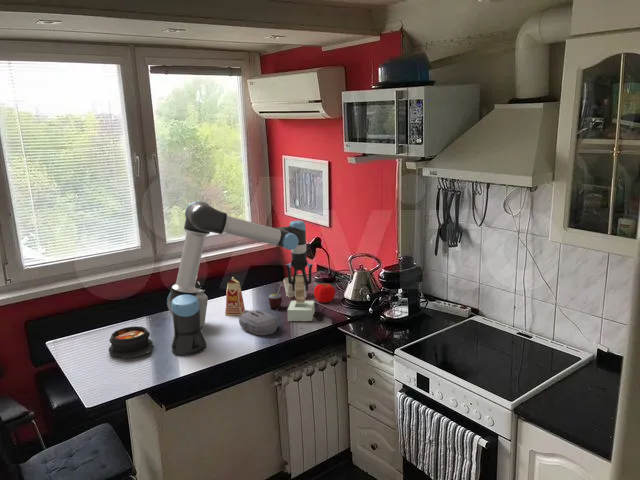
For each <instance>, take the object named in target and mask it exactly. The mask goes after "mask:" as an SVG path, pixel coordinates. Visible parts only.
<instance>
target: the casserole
mask: <svg viewBox="0 0 640 480" xmlns="http://www.w3.org/2000/svg"><path fill="white" fill-rule="evenodd" d="M150 335H151V334H150V331H149V330H148V329H147V328H146V327H144V326H138V325H137V326H129V327H122V328H120V329H117V330H115V331H114V332H112V333H111V336H110V338H109V339H108V340H109V343H110V344H111V345H110V346H109V348H108V352H109V354H111V355H115V356H118V357H121V358H124V359H130V358H131V359H133V358H137V357H140V356H143V355H146V354H148V353H149V352H151V351H152V347H153V345H154V342H153V341H152V340H151V338H149V337H150Z"/></svg>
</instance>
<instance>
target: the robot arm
mask: <svg viewBox="0 0 640 480" xmlns="http://www.w3.org/2000/svg"><path fill="white" fill-rule="evenodd" d="M184 217H185V221H184V226H183V230H184V231H185V233H186V234H185V239H184V243H183V247H182V253H181V258H180V263H179V268H178V272H177V277H176V282H175V284H173V285H171V289H170V292H169V294H168V296H167V299H166V306H167V309H168V311H169V313H170V314H171V318H172V322H173V332H174V335H173V338H172V342H171V353H172V354H173V355H175V356H180V357H181V356H183V357H186V356H193V355H194V356H195V355H197V354H201V353H202V352H204V351H205V350H207V348H208V345H207V343H208V342H207V340H206V337H205V335H204V333H203V331H202V326H201V320H200V304H199V300H198V298H197V297H196V295H197V289H198V288H197V287H196V283H197V279H198V273H199V270H200V263H201V260H202V254H203V249H204V245H205V240H206V237H207V236H208V235H210V234H211V233H214V234H218V235H222V234H227V235H232V236H237V237H240V238H244V239H247V240H248V239H249V240H252V241H255V242H261V243H265V244H269V245H273V246H276V247H280V248H284V249H285V250H288V251H291V254H290V255H291V261H290V263H287V264H286V265H285V267H286V270H287V278H288V281H289V284H292V287H293V291H295V297H294V299H296V284H295V281H296V280H295V276H296V275H297V274H298V271H301V274H303V276H304V281H305V284H304V298H305V299H306V298H307V292H308V291H309V285H311V284H312V281H313V278H312V277H313V276H312V275H313V274H312V273H313V271H312V268H313V266H314V264H313V263H309V262H308V259H307V257H308V256H307V255H308V253H307V232H306V231H307V229H306V228H307V227H306V223H305V222H304V220H293V221H290V223H289V226H279V227H271V226H267V225H263V224H259V223H255V222H252V221H248V220H243V219H240V218H237V217H233V216H229V214H228V213H227V212H224V211H220V210H219V209H216V208H214V207H213V206H211V205H209V204H208V203H207V202H204V201H201V200H200V201H198V200H197V201H193V202H191V203H190V204H189V205H188V206H187V207H186V208H185V212H184ZM306 267H307V268H308V277H307V272H306ZM292 268H293V269H294V270H293V271H294V272H293V276H292V270H291V269H292ZM291 277H293V281H292V279H291ZM196 288H197V289H196Z"/></svg>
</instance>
